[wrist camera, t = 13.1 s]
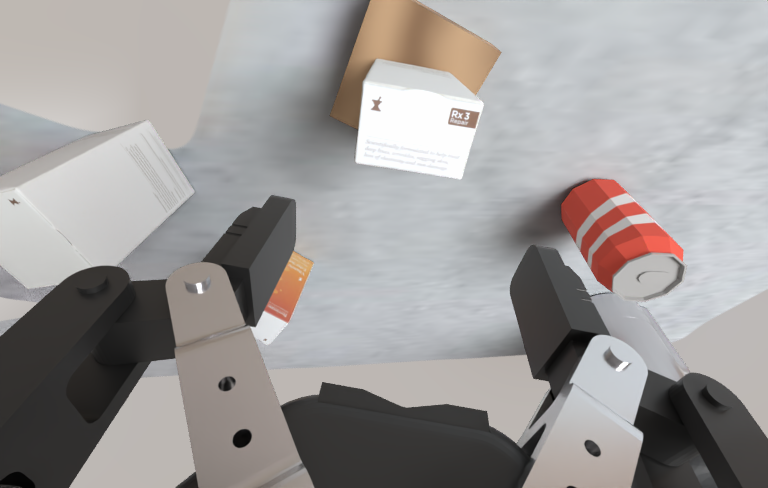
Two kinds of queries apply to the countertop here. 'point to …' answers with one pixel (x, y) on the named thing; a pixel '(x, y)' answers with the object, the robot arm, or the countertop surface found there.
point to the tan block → (411, 50)
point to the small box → (283, 299)
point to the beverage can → (622, 242)
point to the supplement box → (87, 204)
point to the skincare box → (416, 120)
